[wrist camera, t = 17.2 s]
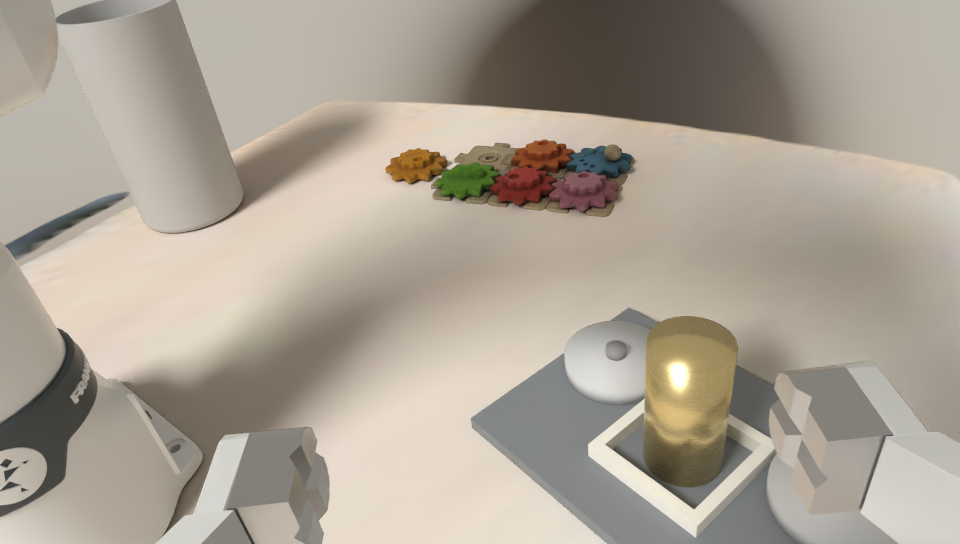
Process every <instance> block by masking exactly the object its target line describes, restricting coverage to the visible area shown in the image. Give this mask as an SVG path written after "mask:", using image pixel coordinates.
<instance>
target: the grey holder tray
mask: <svg viewBox="0 0 960 544" xmlns="http://www.w3.org/2000/svg"><path fill="white" fill-rule="evenodd" d="M657 324H658V323H657V322H655V321H653V320H651V319H649V318H647V317H645V316H644V315H642V314H640V313H638V312H636V311H634V310H632V309H631V308H628V309H626V310H625V311H624V312H622V313H621V314H619V315H618V316H616V317H615V318H614V319H612V320H611V321H606V322H600V323H596V324H592V325H589V326H587V327H585V328H583V329H581V330H580V331H578V332H577V333H576V334H574V335H573V336H572V337H571V338H570V340H569V341H568V343H567V345H566V348H565V353H564V354H562V355H561V356H559V357H558V358H556V359H555V360H553V361H552V362H551V363H549V364H548V365H546V366H545V367H543V368H542V369H541V370H539V371H538V372H536V373H535V374H533V375H532V376H531V377H529V378H528V379H526V380H525V381H523V382H522V383H521V384H519V385H518V386H516V387H515V388H513V389H512V390H511V391H509V392H508V393H506V394H505V395H503V396H502V397H501V398H499V399H498V400H496V401H495V402H493V403H492V404H491V405H489V406H488V407H486V408H485V409H483V410H482V411H481V412H479V413H478V414H476V415H475V416H473V417H472V418H471V423H472V428H473V429H475V430H476V431H477V432H478V433H479V434H480V435H482V436H483V437H484V438H485V439H486V440H487V441H489V442H490V443H491V444H492V445H493V446H494V447H496V448H497V449H498V450H499V451H500V452H501V453H503V454H504V455H505V456H506V457H507V458H508V459H510V460H511V461H512V462H513V463H514V464H515V465H517V466H518V467H519V468H520V469H521V470H522V471H524V472H525V473H526V474H527V475H528V476H529V477H531V478H532V479H533V480H534V481H535V482H536V483H538V484H539V485H540V486H541V487H542V488H543V489H545V490H546V491H547V492H548V493H549V494H550V495H552V496H553V497H554V498H555V499H556V500H557V501H559V502H560V503H561V504H562V505H563V506H564V507H566V508H567V509H568V510H569V511H570V512H571V513H573V514H574V515H575V516H576V517H577V518H578V519H580V520H581V521H582V522H583V523H584V524H585V525H587V526H588V527H589V528H590V529H591V530H592V531H594V532H595V533H596V534H597V535H598V536H599V537H601V538H602V539H603V540H604V541H605V542H606V543H608V544H899V543H897V542H896V541H895V540H894V539H892V538H891V537H890V536H889V535H887V534H886V533H885V532H884V531H882V530H881V529H880V528H878V527H877V526H876V525H875V524H873V523H872V522H871V521H870V520H868V519H867V518H866V517H865V516H863V515H862V514H861V511H851V512H838V513H826V514H814V515H809V514H808V513H807V511H806V509H805V507H804V505H803V503H802V501H801V499H800V497H799V495H798V493H797V491H796V489H795V488H794V486H793V484H792V477H793V473H794V469H793V468H791V467H790V466H788V465H787V464H785V463H784V462H782V461H781V460H780V458H779V456H778V454H777V452H776V450H775V448H774V445H773V442H772V439H771V435H770V427H769V415H770V408H771V406H772V405H773V404H774V403H775V402H776V401H777V400H778V399H779V397H778V395H777V393H776V391H775V389H774V385H772V384H770V383H769V382H767V381H765V380H763V379H761V378H759V377H757V376H756V375H754V374H752V373H750V372H748V371H746V370H744V369H742V368H741V367H739V366H737V365H736V366H735V374H734V381H733V389H732V396H731V404H730V411H729V418H728V426H727V433H726V441H725V448H724V456H723V463H722V468H721V471H720V473H719V474H718V476H717V477H716V478H715V479H714V480H712V481H711V482H709V483H707V484H705V485H702V486H698V487H678V486H674V485H671V484H668V483H666V482H664V481H662V480H660V479H659V478H657V477H656V476H655V475H654V474H653V473H652V472H651V471H650V470H649V469H648V467H647V466H646V464H645V462H644V458H643V432H644V403H645V374H646V346H647V336H648V334H649V332H650V330H651V329H652V328H653V327H654V326H655V325H657Z"/></svg>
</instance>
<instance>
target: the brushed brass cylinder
mask: <svg viewBox="0 0 960 544" xmlns="http://www.w3.org/2000/svg"><path fill="white" fill-rule="evenodd" d="M737 351H738V345H737V341H736V339H735V337H734V336H733V335H732V333H731V332H730V331H729V330H727V329H726V328H725V327H723V326H722V325H720V324H718V323H716V322H714V321H711V320H708V319H705V318H700V317H692V316H682V317H674V318H670V319H667V320H664V321H662V322H660V323H658V324H657V325H655V326H654V327H653V328H652V329H651V330H650V332H649V334H648V336H647V346H646V374H645V403H644V432H643V458H644V462H645V464H646V466H647V467H648V469H649V470H650V471H651V472H652V473H653V474H654V475H655V476H656V477H657V478H659V479H660V480H662V481H664V482H666V483H668V484H671V485H674V486H678V487H698V486H702V485H705V484H707V483H709V482H711V481H712V480H714V479H715V478H716V477H717V476H718V474H719V473H720V471H721V468H722V463H723V456H724V448H725V441H726V433H727V426H728V418H729V411H730V404H731V396H732V389H733V381H734V374H735V366H736V359H737Z"/></svg>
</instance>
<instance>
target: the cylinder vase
mask: <svg viewBox="0 0 960 544" xmlns="http://www.w3.org/2000/svg"><path fill="white" fill-rule="evenodd" d="M55 17H56V24H57V30H58V38H59V40H60V42H61V44H62V47H63V49H64V51H65V53H66V55H67V57H68V60H69V62H70V64H71V66H72V68H73V70H74V72H75V75H76V77H77V79H78V81H79V83H80V86H81V88H82V90H83V92H84V94H85V96H86V99H87V101H88V103H89V105H90V107H91V109H92V111H93V114H94V116H95V118H96V120H97V122H98V124H99V127H100V129H101V131H102V133H103V135H104V137H105V140H106V142H107V144H108V146H109V148H110V150H111V152H112V155H113V157H114V159H115V161H116V163H117V165H118V168H119V170H120V172H121V174H122V176H123V178H124V181H125V183H126V185H127V187H128V189H129V191H130V194H131V196H132V198H133V200H134V202H135V204H136V206H137V209H138V211H139V213H140V215H141V217H142V219H143V221H144V223H145V224H146V225H147V226H148V227H149V228H151V229H153V230H155V231H158V232H163V233H180V232H187V231H192V230H196V229H200V228H203V227H206V226H209V225H211V224H214V223H216V222H218V221H220V220H222V219H223V218H225V217H227V216H228V215H230V214H231V213H232V212H233V211H235V210H236V209H237V208H238V206H239V205H240V204H241V202H242V200H243V196H244V192H243V188H242V185H241V182H240V180H239V177H238V174H237V171H236V168H235V166H234V163H233V160H232V157H231V154H230V151H229V149H228V146H227V143H226V140H225V137H224V134H223V132H222V129H221V126H220V123H219V120H218V118H217V115H216V112H215V109H214V106H213V104H212V101H211V98H210V95H209V92H208V90H207V87H206V84H205V81H204V78H203V75H202V73H201V70H200V67H199V64H198V61H197V59H196V55H195V53H194V50H193V47H192V44H191V41H190V39H189V36H188V33H187V30H186V27H185V24H184V22H183V19H182V16H181V13H180V11H179V7H178V5H177V2H176V0H102V1H97V2H93V3H89V4H86V5H83V6H79V7H76V8H73V9H70V10H68V11H65V12H63V13H61V14H59V15H57V16H55Z"/></svg>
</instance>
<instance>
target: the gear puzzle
mask: <svg viewBox="0 0 960 544" xmlns="http://www.w3.org/2000/svg"><path fill="white" fill-rule="evenodd" d="M509 147H510V144H506V143H495V146H493V147H490V146H475V147H474V148H473V149H472V150H471V151H470V152H469V153H468V154H463V153H460V154H459V155H458V156H457V157H456V158H455V159H454V161H455V163H459V162H461V163H460V164H459V165H456V166H455V167H454V168H452V169H451V170H447V171H444V170H443V167H444V166H446V165H447V159H445V158H442V157H440V153H439V152H429V150H421V149H420V148H418V149H415V150H408V151H407V152H405V153H401V154H400V157H395V158H392V159H391V164H390V165H389V166H387V167H386V173H389V174H392V180H393V181H395V180H401V179H405V180H406V182H407V183H413V182H415V181H416V180H418V179H421V180H425V181H430V179H431V177H432V175H438V174H442V178H437V179H436V180H435V181H434V183H433V184H432V185H431V189H437V190H436V191H435V192H434V194H433V199H435V200H443V201H451V198H452V197H453V196H455V197H456V198H457V199H461V198H463V197H468V198H467V199H466V203H473V204H485V203H488V204H489V205H492V206H501V207H507V203H509V202H513V203H514V204H515V205H520V204H522V203H526V204H525V205H524V209H532V210H544V209H547V210H548V211H551V212H559V213H568V209H569V208H576V209H578V210H579V211H585V210H586V209H587V211H586V215H590V216H599V217H606V216H608V215H609V214H610V213H611V211H612V209H613V203H605V201H610V200H615V199H617V198H618V195H619V193H620V191H621V185H622V184H624V182H625V179H626V177H627V176H626V173H621V174H618V172H620V171H628V170H630V167H631V166H632V163H633V157H632V156H631V155H629V154H626V153H622V150H621V148H619V147H618V146H617V145H609V146H607V147H605V146H599V147H597V148H595V149H591V148H583V149H582V150H581V153H575V152H574V151H573V150H570V149H566V145H565V144H556V142H555V141H548V140H542V141H534V142H533V143H530V144H527V145H526V148H521V149H520V148H509ZM489 159H492V160H489ZM562 179H563V181H561V180H562Z"/></svg>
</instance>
